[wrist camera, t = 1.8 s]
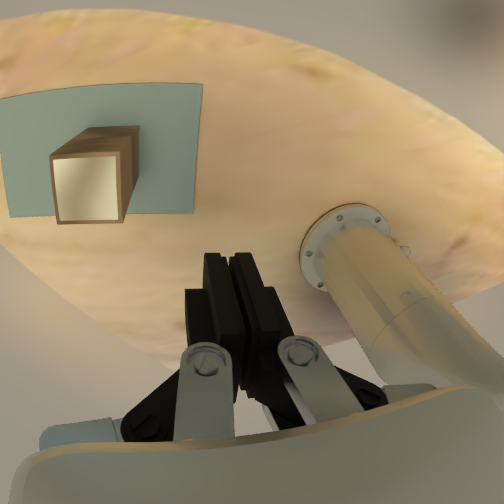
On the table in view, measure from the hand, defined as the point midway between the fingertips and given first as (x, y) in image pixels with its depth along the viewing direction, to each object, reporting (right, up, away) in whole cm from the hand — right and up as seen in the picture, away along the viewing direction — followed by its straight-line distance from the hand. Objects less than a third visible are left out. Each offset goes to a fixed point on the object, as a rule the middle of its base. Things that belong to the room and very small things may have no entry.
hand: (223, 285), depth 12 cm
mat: (-14, +11, +15) cm, 23 cm away
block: (-12, +11, +15) cm, 22 cm away
